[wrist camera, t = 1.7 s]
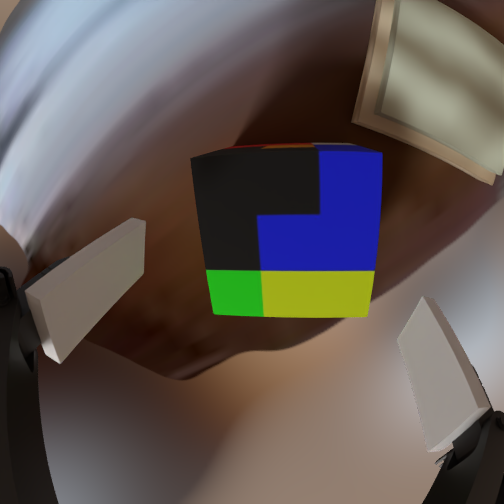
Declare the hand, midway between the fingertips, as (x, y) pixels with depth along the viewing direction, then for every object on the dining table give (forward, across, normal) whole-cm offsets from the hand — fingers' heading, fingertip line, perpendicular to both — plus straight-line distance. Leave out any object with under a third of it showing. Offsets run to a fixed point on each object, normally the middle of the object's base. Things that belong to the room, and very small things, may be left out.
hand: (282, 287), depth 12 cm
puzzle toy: (+14, 0, 0) cm, 14 cm away
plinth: (+14, +10, +16) cm, 23 cm away
